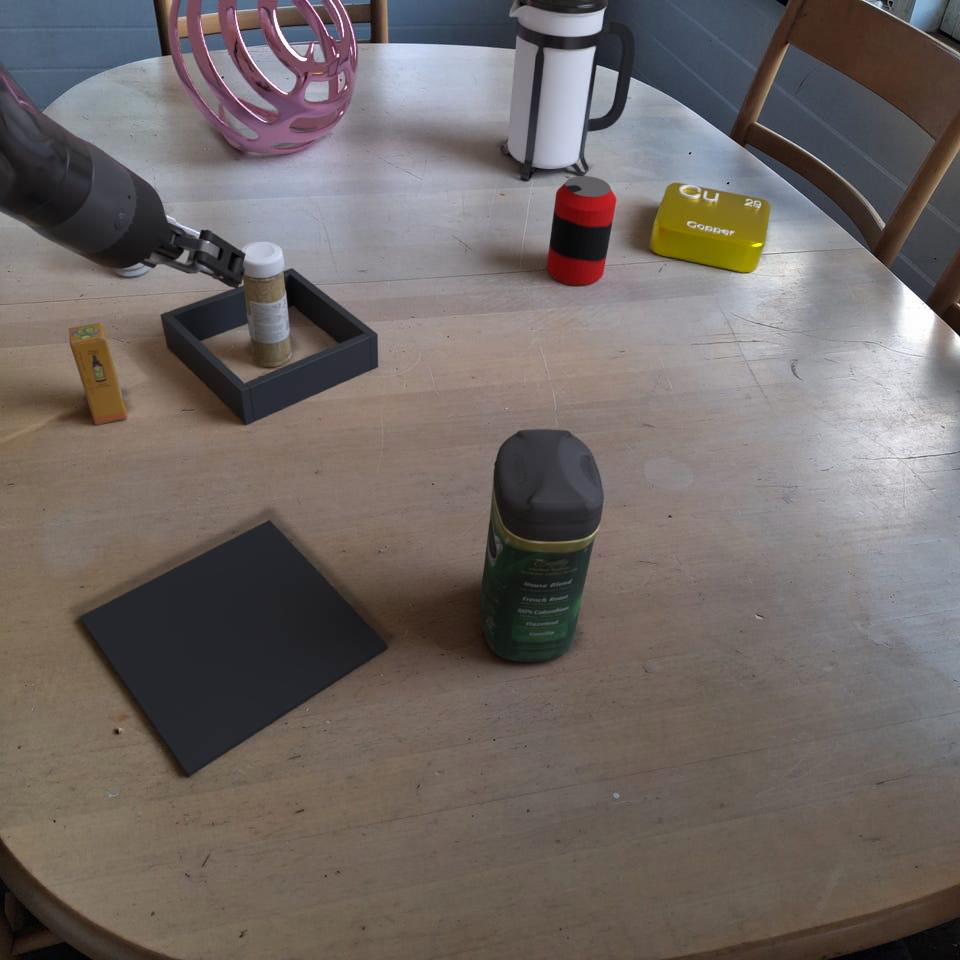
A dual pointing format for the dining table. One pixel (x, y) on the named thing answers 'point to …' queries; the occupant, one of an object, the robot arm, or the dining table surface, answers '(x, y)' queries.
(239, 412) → the dark grey square frame
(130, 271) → the rook chess piece
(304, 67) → the spiral basket
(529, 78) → the coffee press
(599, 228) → the soda can
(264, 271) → the sprinkles bottle
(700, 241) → the element tile
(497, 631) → the coffee jar
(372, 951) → the dining table surface
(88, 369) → the supplement box
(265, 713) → the mat
